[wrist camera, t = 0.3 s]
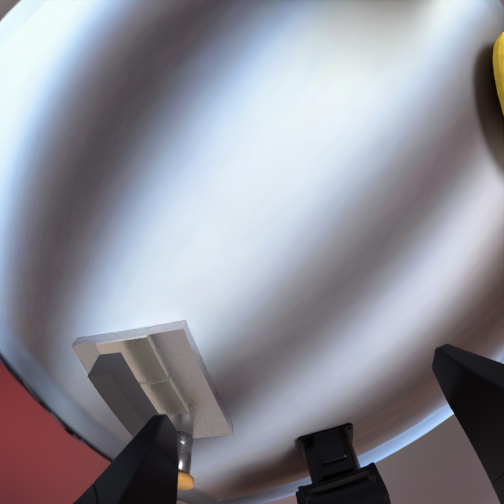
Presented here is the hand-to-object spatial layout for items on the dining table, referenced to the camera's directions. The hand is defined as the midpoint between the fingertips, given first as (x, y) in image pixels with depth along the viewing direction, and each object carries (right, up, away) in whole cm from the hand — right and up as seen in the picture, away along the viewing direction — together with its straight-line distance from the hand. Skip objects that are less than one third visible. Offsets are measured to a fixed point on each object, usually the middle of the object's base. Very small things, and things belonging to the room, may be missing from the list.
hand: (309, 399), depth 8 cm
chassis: (-11, -9, +16) cm, 21 cm away
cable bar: (-10, -10, +13) cm, 19 cm away
